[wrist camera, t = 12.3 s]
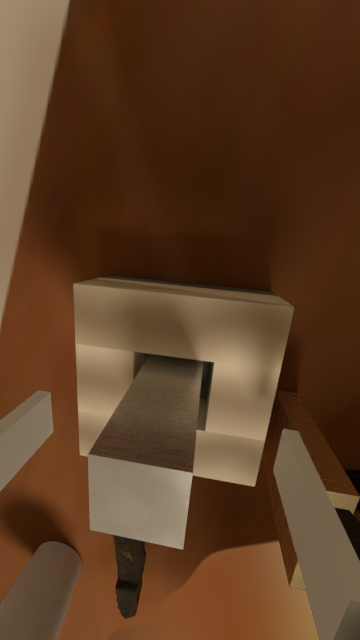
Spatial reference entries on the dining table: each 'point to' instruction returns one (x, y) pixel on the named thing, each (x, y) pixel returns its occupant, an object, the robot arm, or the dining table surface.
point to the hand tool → (129, 573)
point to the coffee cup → (41, 594)
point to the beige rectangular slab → (335, 480)
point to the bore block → (191, 343)
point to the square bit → (148, 455)
